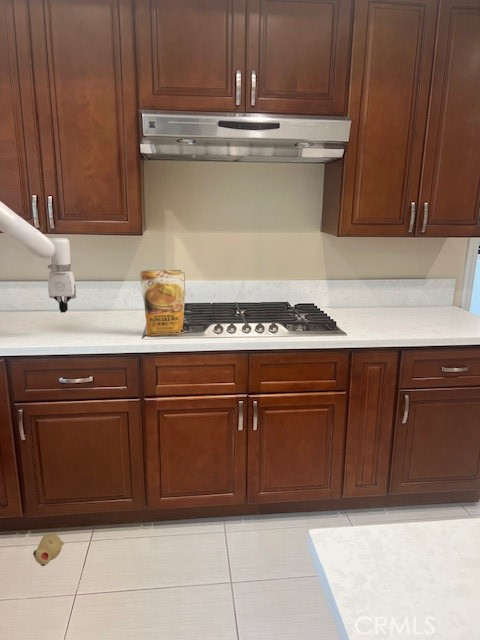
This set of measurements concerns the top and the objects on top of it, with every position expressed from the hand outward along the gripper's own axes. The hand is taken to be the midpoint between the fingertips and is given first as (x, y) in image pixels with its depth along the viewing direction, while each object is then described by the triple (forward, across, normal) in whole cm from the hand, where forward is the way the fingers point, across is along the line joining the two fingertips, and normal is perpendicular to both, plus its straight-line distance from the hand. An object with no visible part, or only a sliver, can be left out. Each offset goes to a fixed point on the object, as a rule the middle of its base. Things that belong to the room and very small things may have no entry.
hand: (63, 311), depth 195 cm
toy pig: (+92, -2, -32) cm, 97 cm away
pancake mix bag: (+10, +42, +3) cm, 43 cm away
